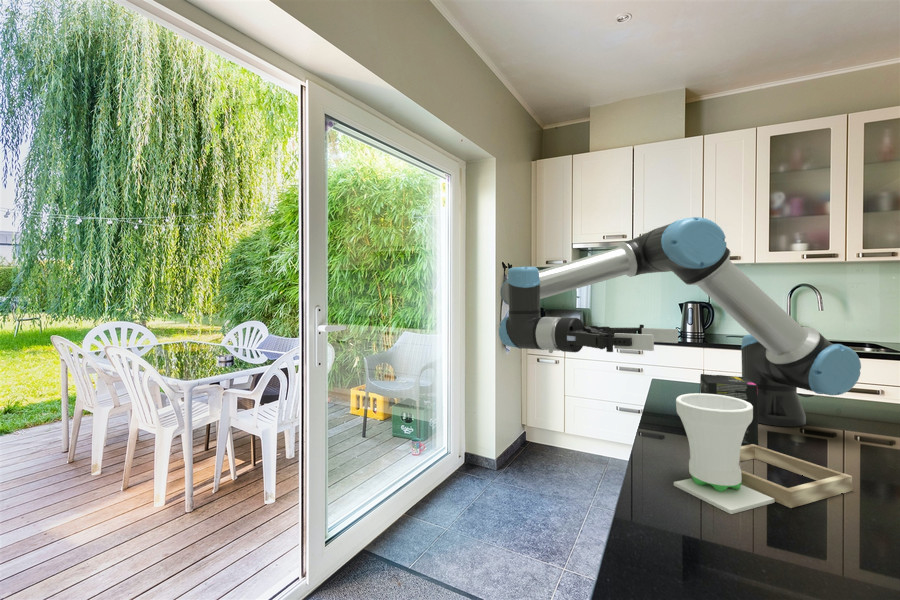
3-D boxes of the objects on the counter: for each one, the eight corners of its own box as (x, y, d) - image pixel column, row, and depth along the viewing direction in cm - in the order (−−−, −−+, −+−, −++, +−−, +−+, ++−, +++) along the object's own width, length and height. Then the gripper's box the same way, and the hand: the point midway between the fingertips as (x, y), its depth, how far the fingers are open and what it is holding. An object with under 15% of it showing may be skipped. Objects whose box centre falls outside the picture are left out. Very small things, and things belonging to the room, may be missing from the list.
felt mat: (714, 476, 73) (714, 473, 73) (774, 502, 64) (774, 498, 64) (673, 485, 70) (673, 482, 70) (730, 514, 60) (730, 510, 60)
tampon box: (759, 454, 83) (759, 384, 83) (708, 448, 87) (707, 381, 87) (745, 437, 93) (745, 375, 93) (699, 432, 97) (699, 372, 97)
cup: (663, 471, 74) (661, 395, 74) (715, 464, 76) (714, 391, 76) (713, 502, 63) (711, 413, 63) (773, 494, 65) (771, 407, 64)
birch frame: (752, 456, 82) (752, 444, 82) (852, 490, 67) (852, 476, 67) (696, 467, 77) (696, 454, 77) (790, 508, 62) (790, 492, 62)
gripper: (588, 345, 97) (686, 351, 82) (530, 358, 79) (641, 369, 64) (587, 314, 97) (685, 315, 82) (529, 320, 79) (639, 323, 64)
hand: (666, 339), depth 73 cm, fingers open, 13 cm apart
